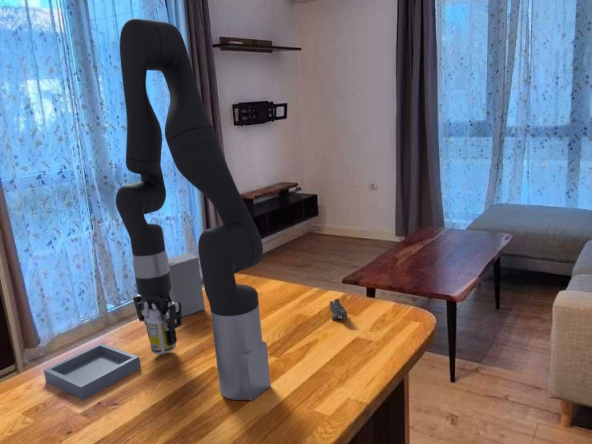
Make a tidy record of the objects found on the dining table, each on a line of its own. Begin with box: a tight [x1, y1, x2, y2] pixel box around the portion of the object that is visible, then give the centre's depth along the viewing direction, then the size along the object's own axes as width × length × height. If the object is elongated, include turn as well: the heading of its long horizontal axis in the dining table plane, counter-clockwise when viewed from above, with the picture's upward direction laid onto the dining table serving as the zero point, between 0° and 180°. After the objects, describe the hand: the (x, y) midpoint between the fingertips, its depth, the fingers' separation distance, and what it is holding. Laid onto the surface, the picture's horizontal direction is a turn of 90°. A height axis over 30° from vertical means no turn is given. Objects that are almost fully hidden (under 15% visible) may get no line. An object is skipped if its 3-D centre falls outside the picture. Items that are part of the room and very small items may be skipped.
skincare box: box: [168, 252, 206, 318], centre depth 140 cm, size 8×7×16 cm
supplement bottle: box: [146, 309, 177, 355], centre depth 116 cm, size 6×6×10 cm
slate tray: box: [43, 342, 142, 401], centre depth 111 cm, size 14×14×3 cm
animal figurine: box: [329, 298, 349, 321], centre depth 130 cm, size 12×4×5 cm, turn 12°
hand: (162, 341), depth 117 cm, fingers closed on supplement bottle, 5 cm apart
